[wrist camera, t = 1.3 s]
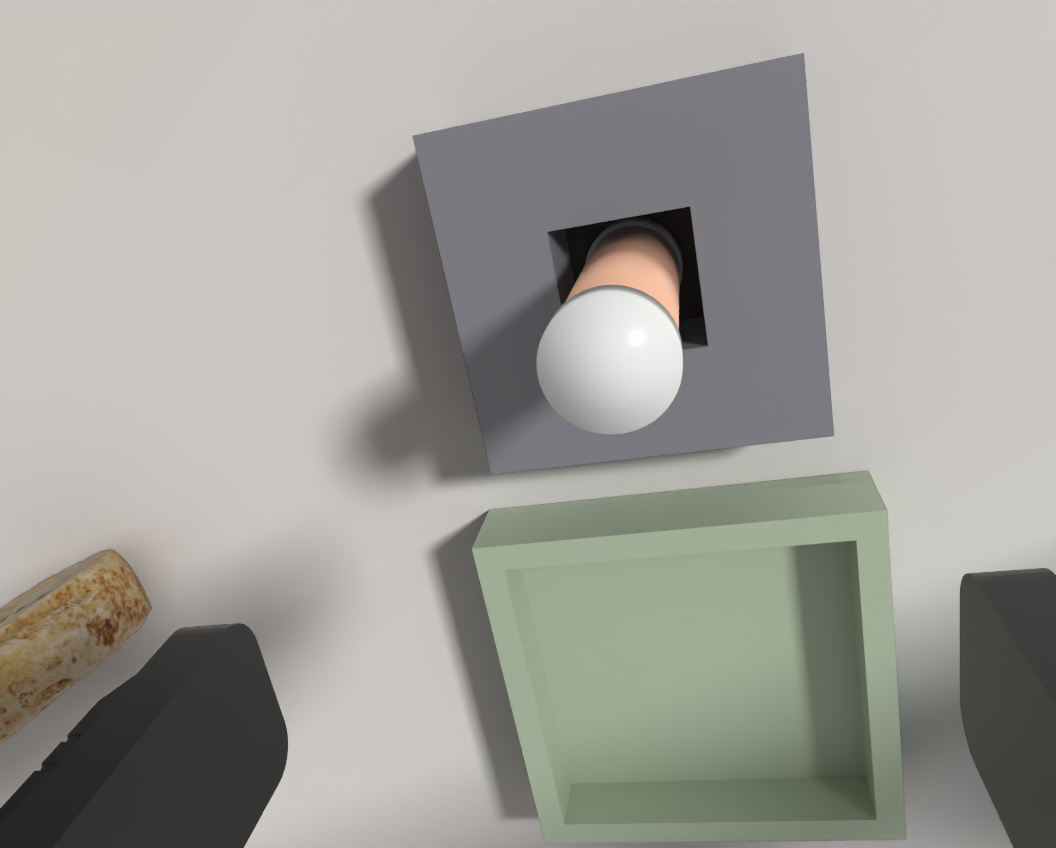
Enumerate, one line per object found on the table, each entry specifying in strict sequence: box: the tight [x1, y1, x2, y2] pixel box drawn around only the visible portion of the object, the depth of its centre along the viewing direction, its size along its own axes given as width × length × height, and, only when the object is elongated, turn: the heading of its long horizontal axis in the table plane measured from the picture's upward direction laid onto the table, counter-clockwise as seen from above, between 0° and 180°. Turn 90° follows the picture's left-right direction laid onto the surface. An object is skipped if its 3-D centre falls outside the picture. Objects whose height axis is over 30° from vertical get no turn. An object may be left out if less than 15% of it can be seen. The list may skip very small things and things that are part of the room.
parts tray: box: [472, 471, 906, 843], centre depth 32 cm, size 14×14×3 cm
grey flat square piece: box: [413, 53, 834, 475], centre depth 27 cm, size 11×11×4 cm
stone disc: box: [0, 549, 152, 744], centre depth 33 cm, size 10×4×10 cm, turn 118°
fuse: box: [537, 218, 683, 434], centre depth 24 cm, size 3×3×11 cm
